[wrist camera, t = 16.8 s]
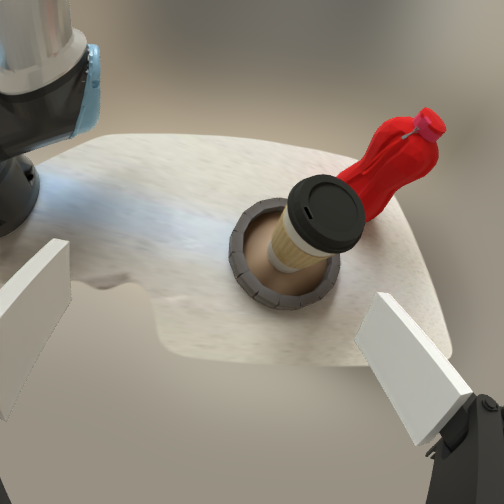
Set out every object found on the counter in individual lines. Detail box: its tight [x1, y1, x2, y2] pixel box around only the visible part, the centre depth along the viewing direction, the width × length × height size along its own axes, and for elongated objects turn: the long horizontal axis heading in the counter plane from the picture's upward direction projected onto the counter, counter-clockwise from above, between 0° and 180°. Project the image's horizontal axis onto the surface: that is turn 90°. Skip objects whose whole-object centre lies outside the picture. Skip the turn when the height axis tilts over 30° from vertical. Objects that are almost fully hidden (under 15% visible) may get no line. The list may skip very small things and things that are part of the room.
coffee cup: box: [267, 174, 366, 273], centre depth 40 cm, size 10×10×15 cm
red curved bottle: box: [337, 108, 446, 222], centre depth 43 cm, size 9×11×25 cm
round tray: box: [229, 198, 340, 310], centre depth 46 cm, size 17×17×2 cm
